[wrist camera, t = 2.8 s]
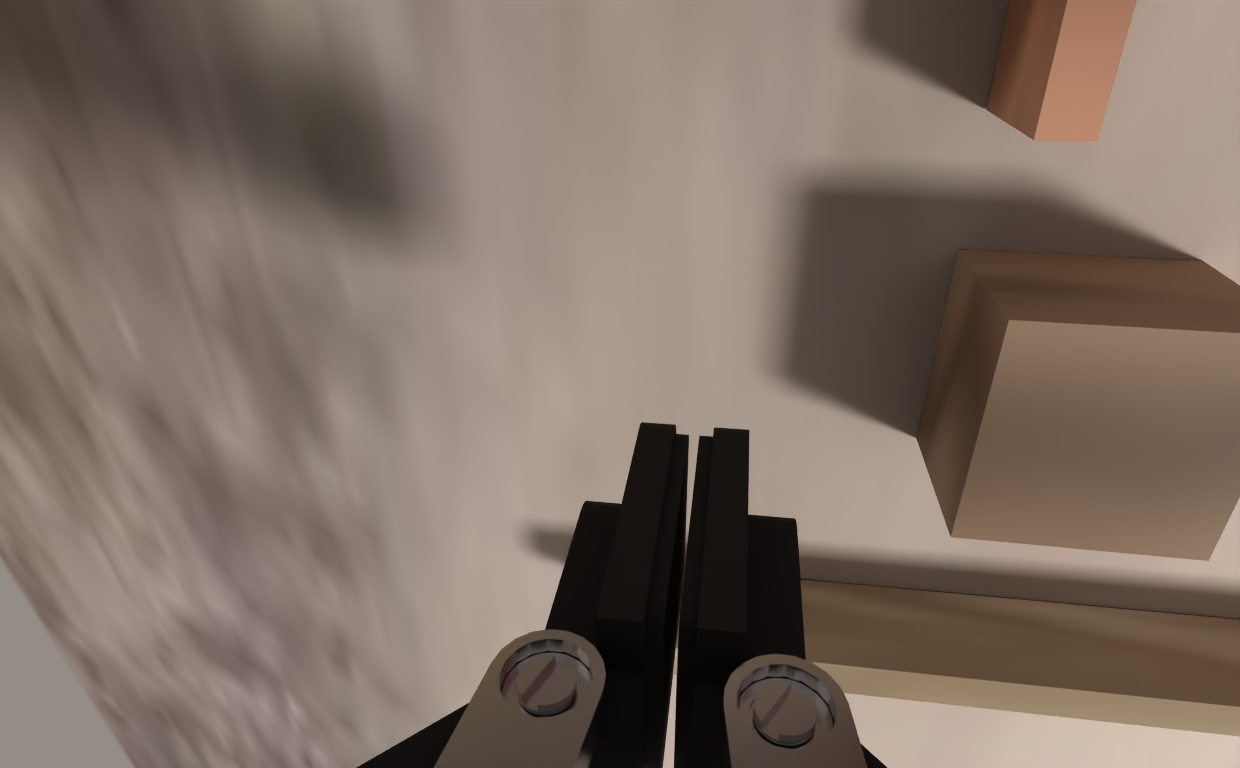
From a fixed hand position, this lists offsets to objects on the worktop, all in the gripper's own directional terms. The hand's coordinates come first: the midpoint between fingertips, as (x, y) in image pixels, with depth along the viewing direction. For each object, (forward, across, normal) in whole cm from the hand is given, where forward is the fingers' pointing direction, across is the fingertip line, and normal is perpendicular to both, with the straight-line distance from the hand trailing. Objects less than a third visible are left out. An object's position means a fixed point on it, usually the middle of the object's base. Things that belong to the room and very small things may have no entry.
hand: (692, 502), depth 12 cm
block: (+8, -8, +1) cm, 11 cm away
